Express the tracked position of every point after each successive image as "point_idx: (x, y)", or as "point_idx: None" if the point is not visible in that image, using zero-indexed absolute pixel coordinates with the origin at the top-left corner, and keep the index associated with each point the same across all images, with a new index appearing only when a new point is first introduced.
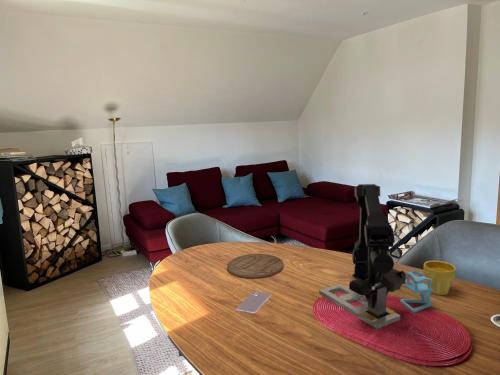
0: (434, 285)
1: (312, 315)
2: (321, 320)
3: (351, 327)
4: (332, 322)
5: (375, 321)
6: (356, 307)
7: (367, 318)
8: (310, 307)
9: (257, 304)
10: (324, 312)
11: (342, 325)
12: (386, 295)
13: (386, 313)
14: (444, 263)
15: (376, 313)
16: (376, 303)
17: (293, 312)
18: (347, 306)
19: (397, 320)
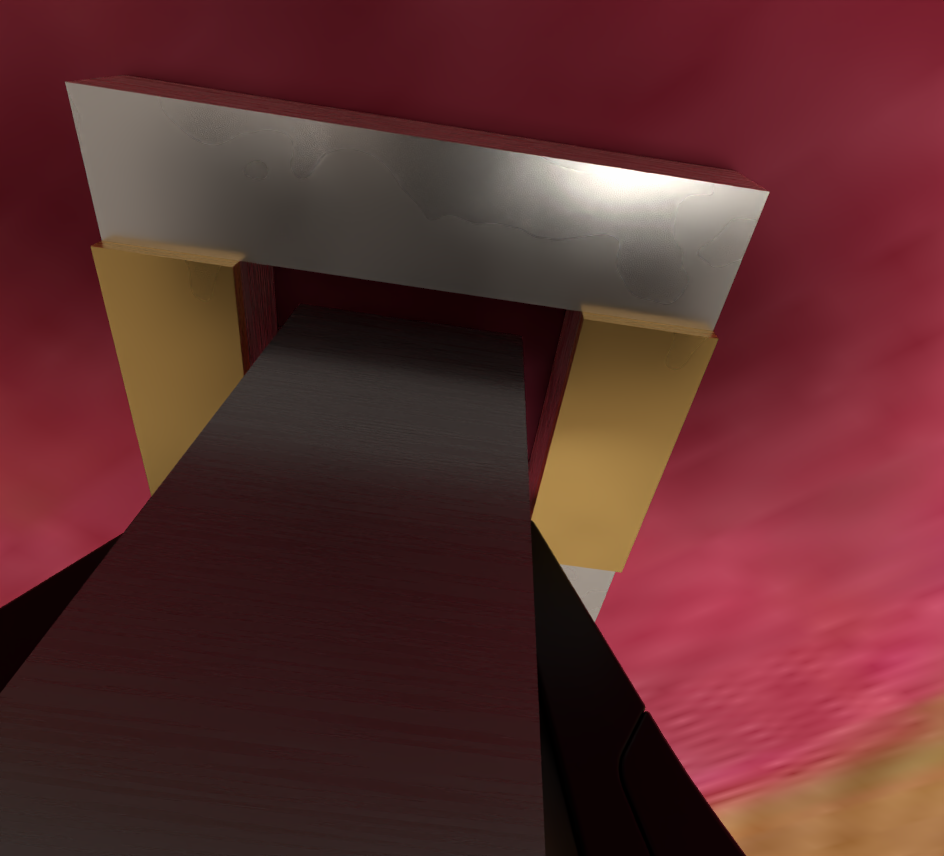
0: None
1: (863, 760)
2: (917, 693)
3: (905, 455)
4: (900, 625)
5: (674, 288)
6: None
7: (674, 427)
8: (734, 810)
9: None
10: (742, 735)
11: (912, 540)
12: (3, 622)
13: (252, 328)
14: None
15: (523, 399)
16: (530, 567)
17: (899, 836)
18: None
19: (198, 87)
